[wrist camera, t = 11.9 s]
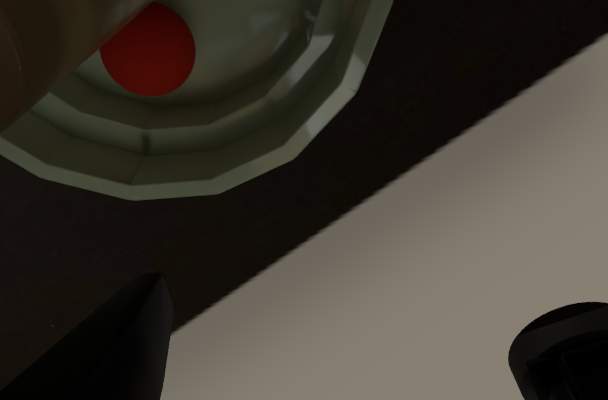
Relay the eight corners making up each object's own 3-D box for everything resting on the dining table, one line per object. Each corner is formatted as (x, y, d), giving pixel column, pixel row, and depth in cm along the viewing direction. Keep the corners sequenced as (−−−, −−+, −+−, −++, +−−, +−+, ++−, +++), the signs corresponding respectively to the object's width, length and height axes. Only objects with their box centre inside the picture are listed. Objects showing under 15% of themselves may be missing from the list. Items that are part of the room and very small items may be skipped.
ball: (109, 42, 18) (193, 31, 18) (119, 118, 17) (206, 104, 18) (80, -15, 15) (181, -27, 16) (91, 73, 14) (196, 58, 15)
